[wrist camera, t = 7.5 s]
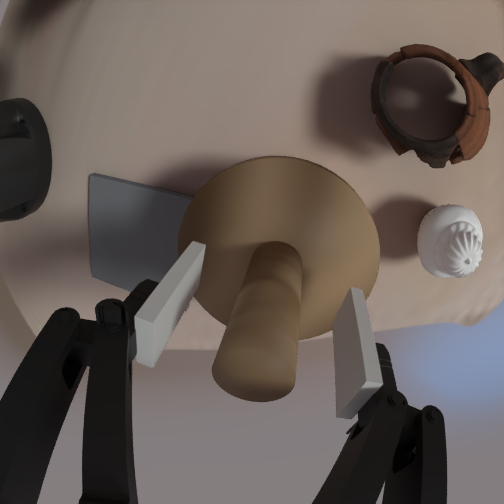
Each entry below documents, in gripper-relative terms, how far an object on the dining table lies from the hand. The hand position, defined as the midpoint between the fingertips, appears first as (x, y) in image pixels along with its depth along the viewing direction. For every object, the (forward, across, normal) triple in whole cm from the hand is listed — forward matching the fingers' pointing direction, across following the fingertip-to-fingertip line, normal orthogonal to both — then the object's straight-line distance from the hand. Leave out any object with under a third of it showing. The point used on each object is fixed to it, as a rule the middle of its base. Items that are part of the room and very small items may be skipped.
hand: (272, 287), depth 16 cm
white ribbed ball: (+10, +13, +4) cm, 17 cm away
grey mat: (+10, -13, -6) cm, 17 cm away
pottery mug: (+10, +9, +14) cm, 19 cm away
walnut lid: (+4, 0, 0) cm, 4 cm away
